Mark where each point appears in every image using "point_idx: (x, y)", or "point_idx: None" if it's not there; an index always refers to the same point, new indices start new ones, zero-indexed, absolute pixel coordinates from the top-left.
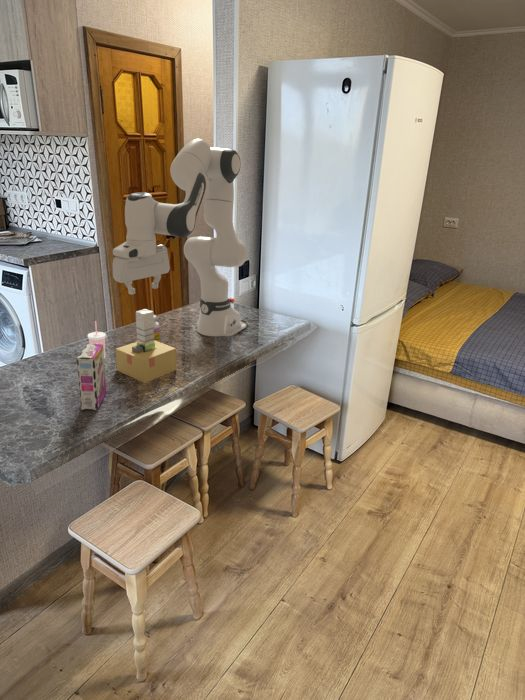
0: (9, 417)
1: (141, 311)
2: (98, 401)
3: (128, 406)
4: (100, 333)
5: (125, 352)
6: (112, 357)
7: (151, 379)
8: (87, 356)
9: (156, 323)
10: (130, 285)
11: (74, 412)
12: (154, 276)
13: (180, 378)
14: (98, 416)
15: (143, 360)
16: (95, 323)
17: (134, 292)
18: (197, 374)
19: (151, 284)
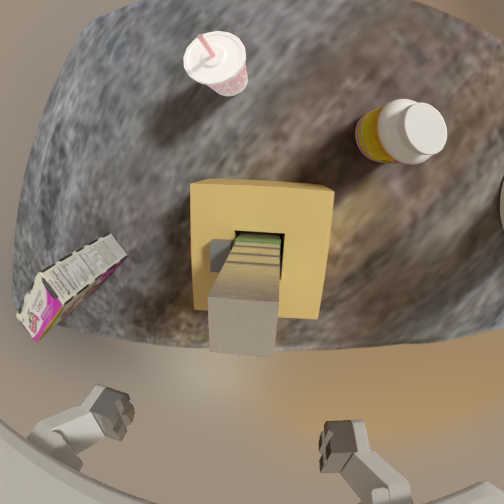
0: (20, 208)
1: (230, 318)
2: (91, 293)
3: (134, 319)
4: (233, 52)
5: (191, 232)
6: (259, 100)
7: None
8: (28, 328)
9: (422, 155)
10: (74, 450)
11: None
12: (367, 500)
13: (280, 322)
14: (90, 303)
15: (194, 308)
16: (200, 40)
17: (123, 420)
18: (318, 335)
19: (329, 443)
